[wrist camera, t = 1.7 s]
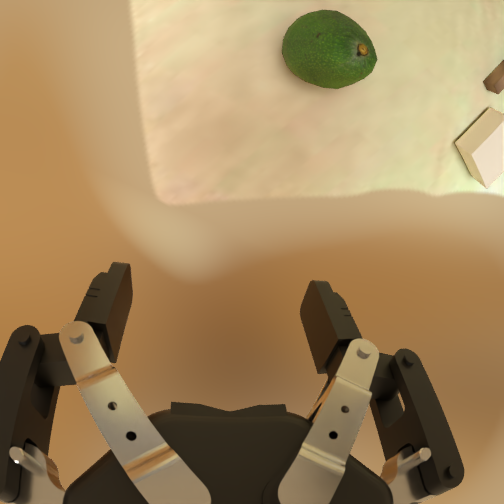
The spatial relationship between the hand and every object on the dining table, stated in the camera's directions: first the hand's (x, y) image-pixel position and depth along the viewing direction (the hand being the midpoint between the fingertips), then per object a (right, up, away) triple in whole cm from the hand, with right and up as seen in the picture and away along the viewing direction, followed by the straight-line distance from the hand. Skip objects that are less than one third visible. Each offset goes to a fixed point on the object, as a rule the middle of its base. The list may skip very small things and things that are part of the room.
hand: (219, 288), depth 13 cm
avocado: (+8, +23, +12) cm, 27 cm away
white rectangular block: (+34, +18, +17) cm, 42 cm away
